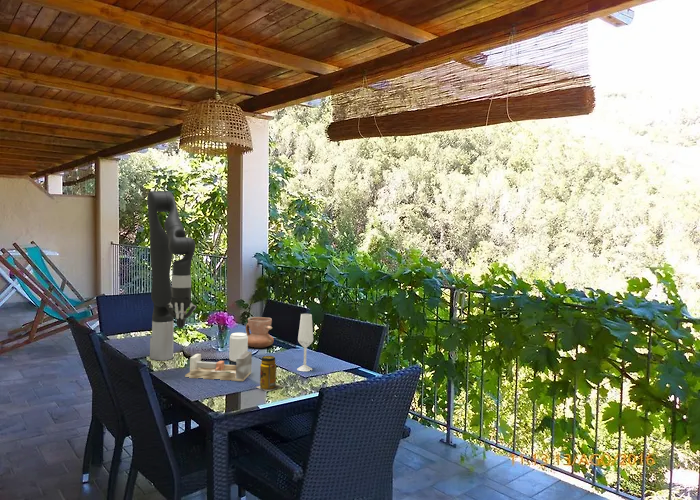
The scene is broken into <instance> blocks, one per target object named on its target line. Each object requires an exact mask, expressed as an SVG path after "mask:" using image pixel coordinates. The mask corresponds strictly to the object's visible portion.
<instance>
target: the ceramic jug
mask: <svg viewBox="0 0 700 500" xmlns="http://www.w3.org/2000/svg"><path fill="white" fill-rule="evenodd" d="M272 323H273V320H272V318H271V317H264V316H263V317H262V316H251V317H248V318H247V323H246V325H245V333H246V334H247V336H248V347H250V348H253V347H254V348H255V349H264V348H268V347H270V346H271V345H273V344H274V342H275V341H274V340H275V339H274V337H273V336H272V335H270V333H269V331H270V330H272V329H273V327H272Z"/></svg>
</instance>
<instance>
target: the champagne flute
mask: <svg viewBox="0 0 700 500" xmlns="http://www.w3.org/2000/svg"><path fill="white" fill-rule="evenodd" d="M313 331H314V329H313V315H312V314H311V313H300V320H299V329H298V336H297V341H298V343H299V344H300V345H301V347H303V364H302V365H301V366H299V367H297V368H296V370H297V371H298V372H299V371H300V372H311V371H313V368H312V367H310V366H308V364H307V351H308V350H307V349H308V347H310V346H311V344H312V343H313V341H314V332H313ZM310 370H311V371H310Z"/></svg>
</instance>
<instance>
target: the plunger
mask: <svg viewBox="0 0 700 500" xmlns="http://www.w3.org/2000/svg"><path fill="white" fill-rule="evenodd" d="M217 362H218V361H217ZM217 362H215V361H202V353H195V354H194V355H192V356H191V357H190V358H189V371H190V370H199V369H200V368H215V369H216V363H217Z"/></svg>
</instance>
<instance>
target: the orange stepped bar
mask: <svg viewBox="0 0 700 500" xmlns="http://www.w3.org/2000/svg"><path fill="white" fill-rule="evenodd" d="M224 365H225V360H219V361H217V363H216V369H215V371H221V370H222V369H224Z"/></svg>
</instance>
